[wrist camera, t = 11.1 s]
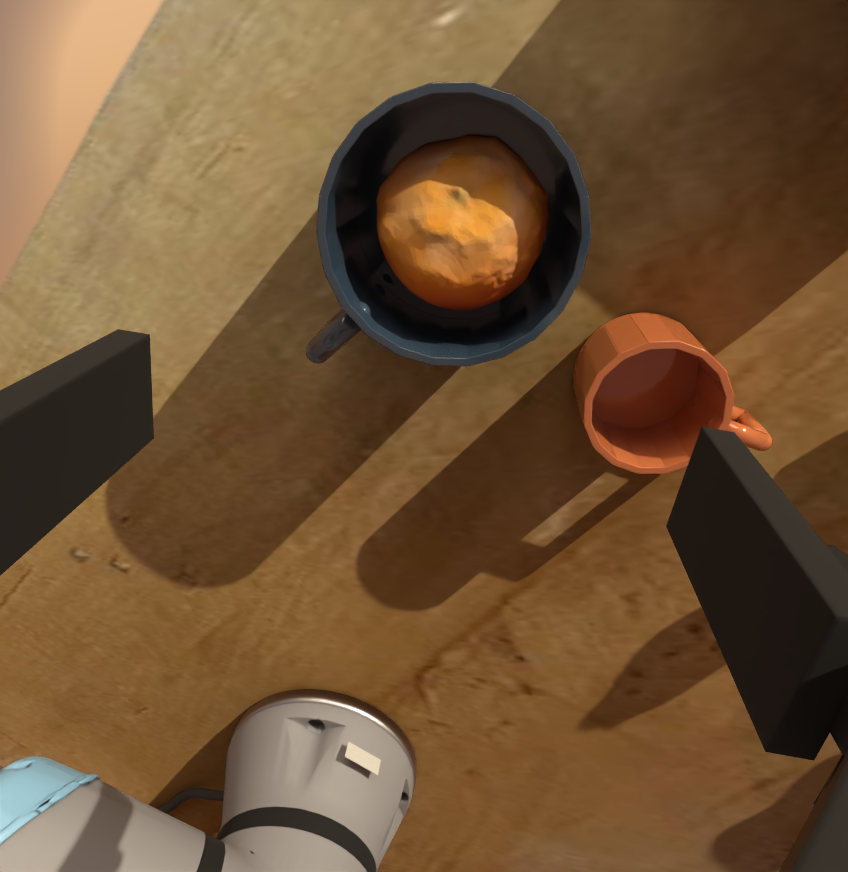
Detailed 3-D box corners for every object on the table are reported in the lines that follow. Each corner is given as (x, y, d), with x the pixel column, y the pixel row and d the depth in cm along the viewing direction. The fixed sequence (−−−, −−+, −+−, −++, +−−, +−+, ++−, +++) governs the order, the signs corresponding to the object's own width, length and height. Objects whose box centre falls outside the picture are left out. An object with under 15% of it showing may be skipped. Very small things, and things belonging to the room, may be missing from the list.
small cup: (553, 406, 39) (561, 447, 34) (606, 293, 36) (622, 320, 31) (711, 462, 40) (741, 510, 35) (776, 355, 37) (819, 391, 32)
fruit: (378, 324, 36) (357, 274, 28) (396, 187, 37) (380, 101, 29) (525, 340, 36) (545, 293, 28) (540, 201, 37) (564, 117, 29)
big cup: (474, 32, 32) (467, 8, 25) (618, 228, 35) (647, 253, 28) (262, 246, 37) (210, 273, 30) (403, 399, 40) (384, 454, 33)
